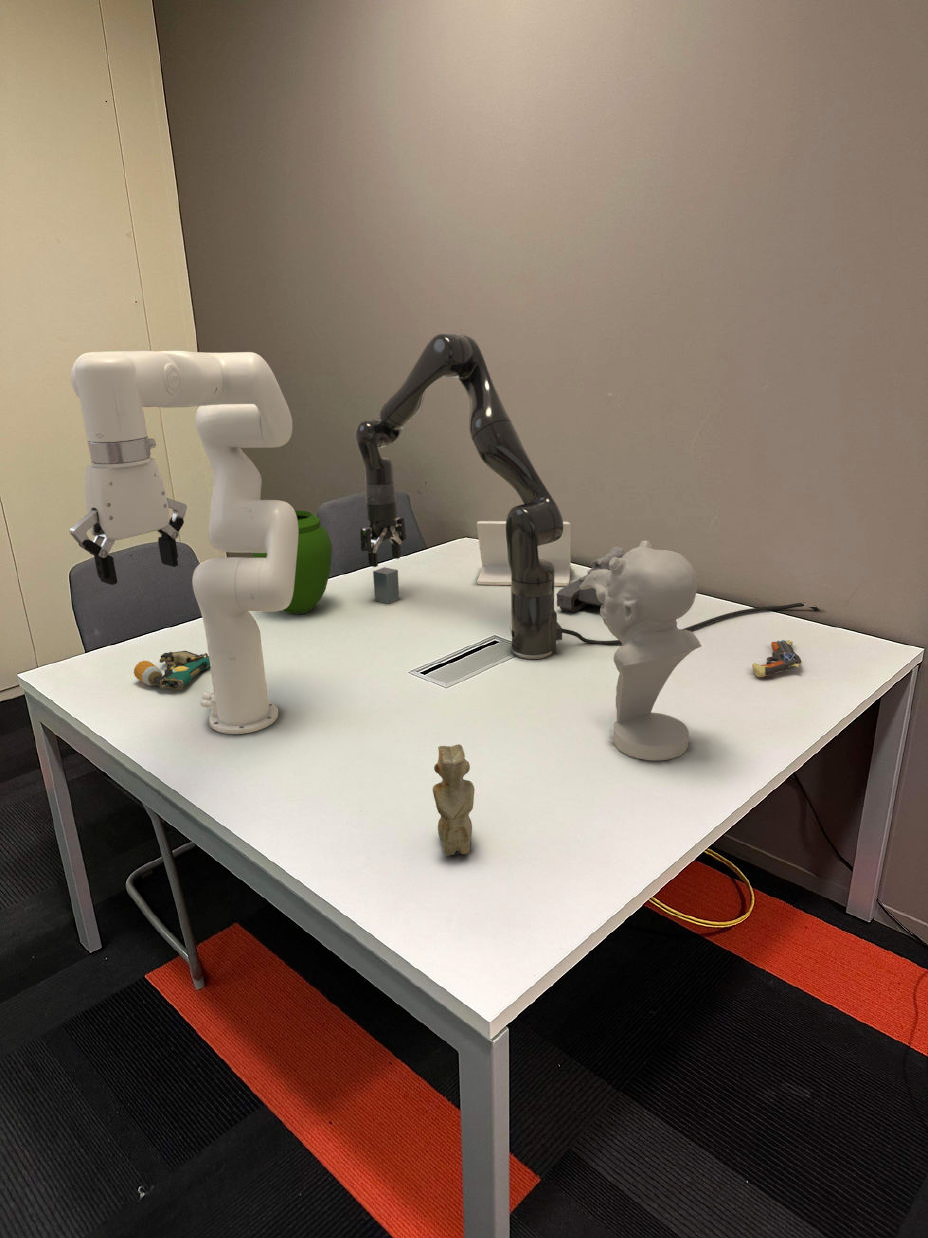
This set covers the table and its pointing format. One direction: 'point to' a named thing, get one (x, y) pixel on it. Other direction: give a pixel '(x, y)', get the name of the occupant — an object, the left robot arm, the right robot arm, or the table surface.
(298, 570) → the vase
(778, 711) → the table surface
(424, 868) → the table surface
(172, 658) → the spray gun
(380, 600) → the brick
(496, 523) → the tablet stand
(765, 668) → the toy gun
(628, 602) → the bust sculpture
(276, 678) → the table surface
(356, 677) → the table surface
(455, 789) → the sculpture
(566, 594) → the toy
